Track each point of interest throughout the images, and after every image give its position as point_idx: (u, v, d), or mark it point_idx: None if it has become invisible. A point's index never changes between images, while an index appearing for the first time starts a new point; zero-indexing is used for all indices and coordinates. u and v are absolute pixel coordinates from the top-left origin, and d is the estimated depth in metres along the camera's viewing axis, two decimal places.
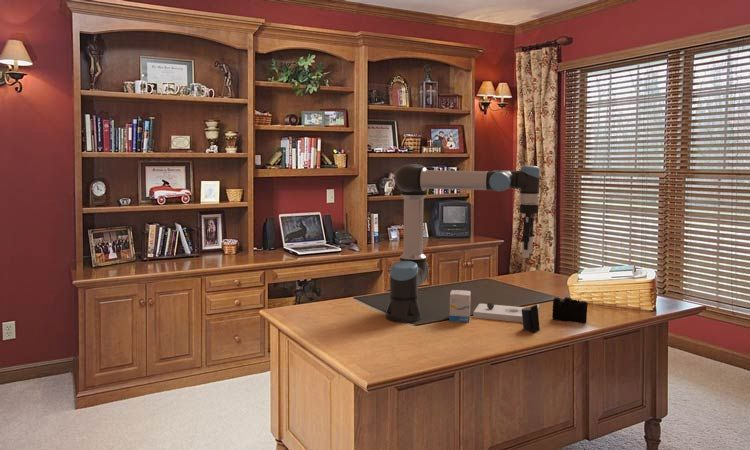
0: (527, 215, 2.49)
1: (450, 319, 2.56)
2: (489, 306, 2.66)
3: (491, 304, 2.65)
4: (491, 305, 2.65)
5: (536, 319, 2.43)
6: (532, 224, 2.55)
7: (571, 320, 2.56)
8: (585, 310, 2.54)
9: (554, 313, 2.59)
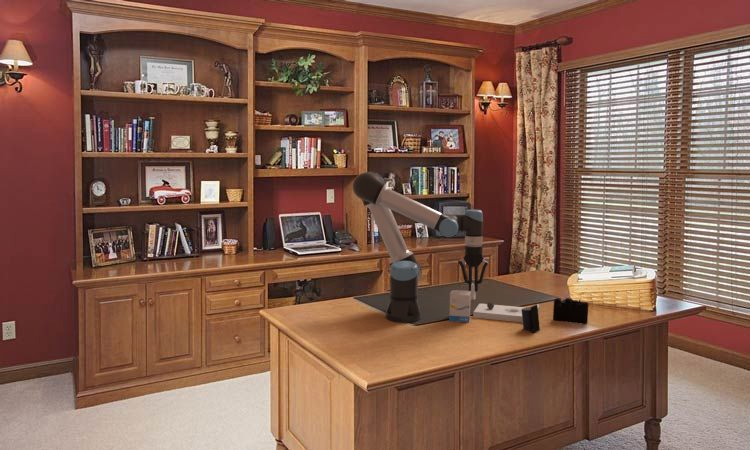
0: None
1: (450, 319, 2.56)
2: (489, 306, 2.66)
3: (491, 304, 2.65)
4: (491, 305, 2.65)
5: (536, 319, 2.43)
6: (474, 266, 2.66)
7: (572, 321, 2.55)
8: (586, 311, 2.53)
9: (555, 314, 2.58)
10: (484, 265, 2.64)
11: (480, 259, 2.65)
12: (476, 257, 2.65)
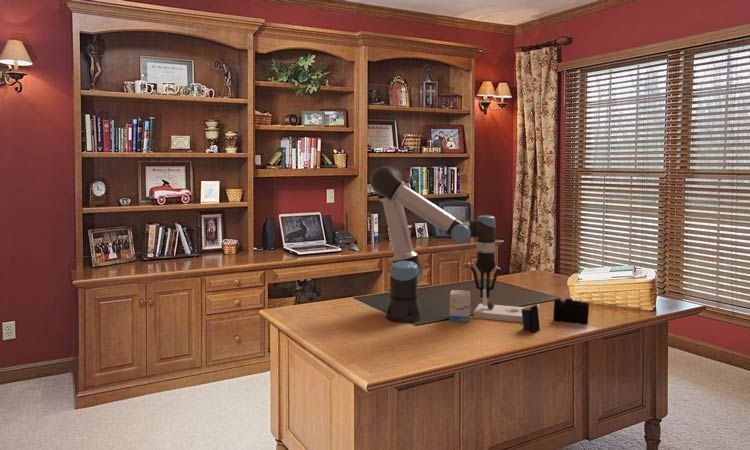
0: None
1: (450, 319, 2.56)
2: (489, 306, 2.66)
3: (491, 304, 2.65)
4: (491, 305, 2.65)
5: (536, 319, 2.43)
6: None
7: (573, 321, 2.54)
8: (587, 311, 2.52)
9: (555, 314, 2.57)
10: (496, 271, 2.63)
11: (492, 265, 2.63)
12: (488, 263, 2.64)
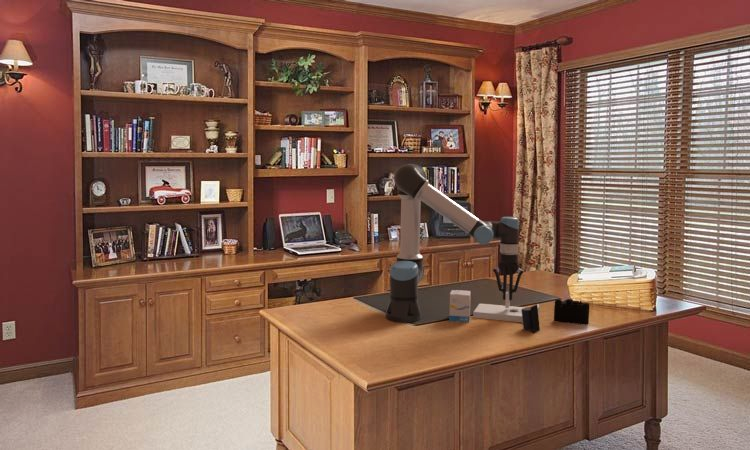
0: None
1: (450, 319, 2.56)
2: None
3: None
4: None
5: (536, 319, 2.43)
6: None
7: (573, 321, 2.54)
8: (587, 311, 2.52)
9: (556, 315, 2.56)
10: (519, 273, 2.60)
11: (515, 267, 2.60)
12: (511, 265, 2.61)
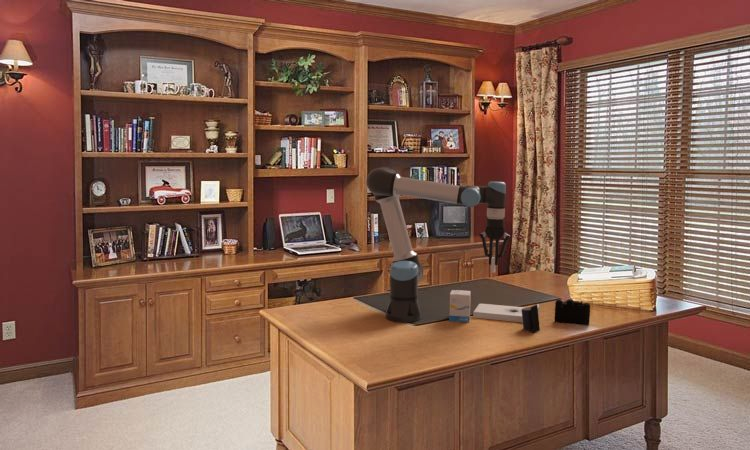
0: None
1: (450, 319, 2.56)
2: None
3: None
4: None
5: (536, 319, 2.43)
6: (495, 239, 2.61)
7: (574, 322, 2.53)
8: (588, 312, 2.51)
9: (556, 315, 2.55)
10: (505, 238, 2.60)
11: (502, 232, 2.60)
12: (498, 230, 2.61)
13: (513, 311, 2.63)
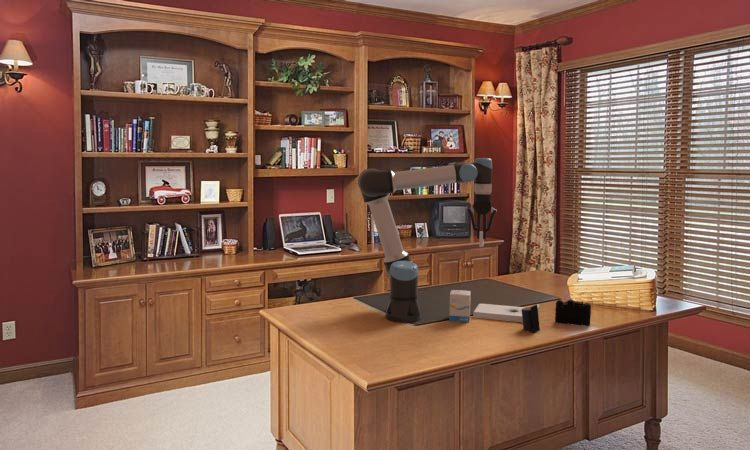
0: None
1: (450, 319, 2.56)
2: None
3: None
4: None
5: (536, 319, 2.43)
6: (483, 214, 2.70)
7: (575, 323, 2.52)
8: (589, 313, 2.50)
9: (557, 316, 2.54)
10: (493, 212, 2.68)
11: (489, 207, 2.69)
12: (485, 205, 2.69)
13: (513, 311, 2.63)
